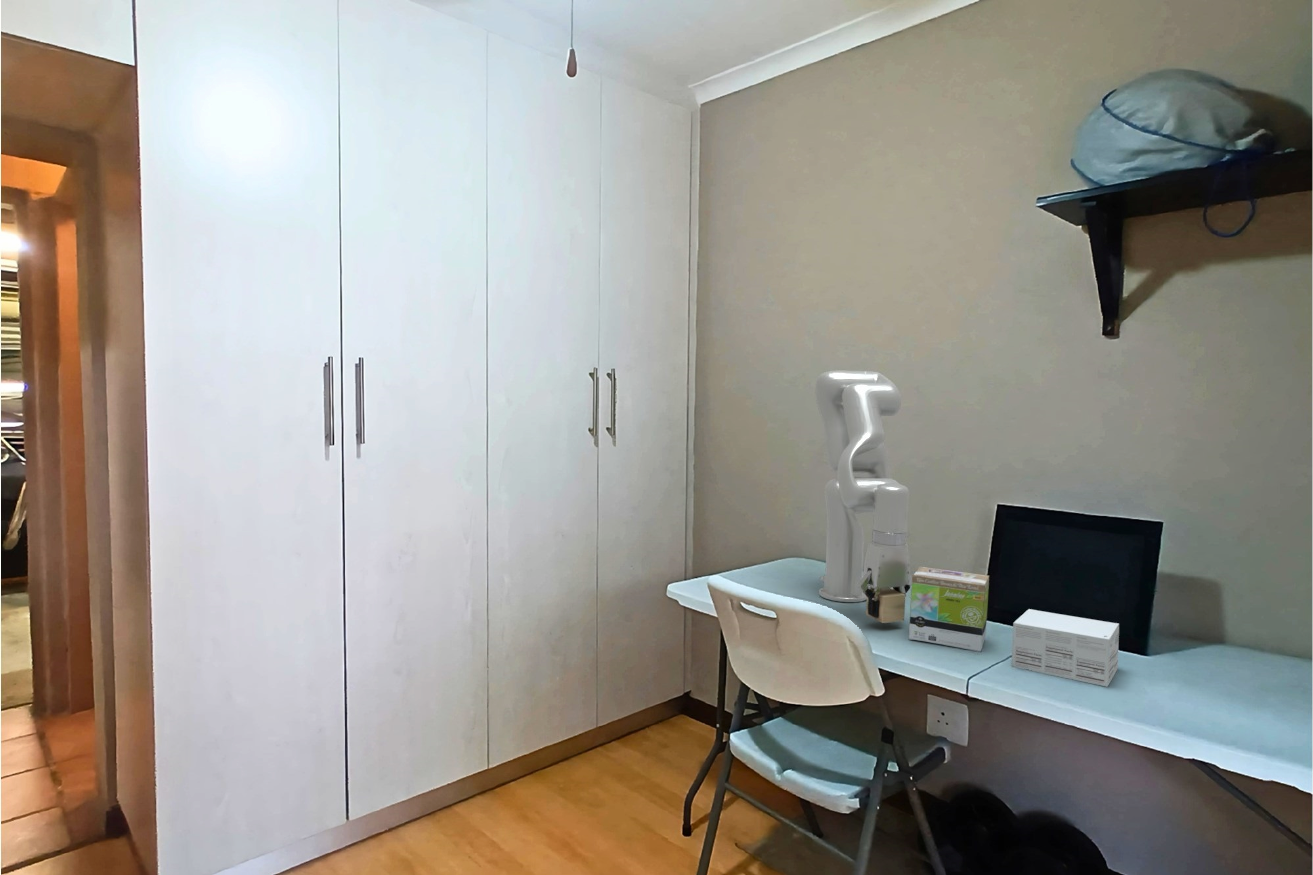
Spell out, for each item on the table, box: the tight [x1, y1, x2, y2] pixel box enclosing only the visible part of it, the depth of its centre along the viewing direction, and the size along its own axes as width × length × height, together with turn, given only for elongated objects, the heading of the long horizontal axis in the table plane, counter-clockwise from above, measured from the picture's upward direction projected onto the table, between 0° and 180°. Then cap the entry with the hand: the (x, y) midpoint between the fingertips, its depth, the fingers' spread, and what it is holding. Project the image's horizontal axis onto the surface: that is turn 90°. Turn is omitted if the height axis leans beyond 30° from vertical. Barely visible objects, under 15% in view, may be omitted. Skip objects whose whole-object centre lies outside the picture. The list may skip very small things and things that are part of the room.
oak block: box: [865, 588, 906, 624], centre depth 177 cm, size 6×6×6 cm
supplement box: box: [1010, 608, 1120, 688], centre depth 153 cm, size 17×13×9 cm
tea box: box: [908, 566, 990, 653], centre depth 168 cm, size 15×10×15 cm, turn 62°
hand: (885, 613), depth 177 cm, fingers closed on oak block, 6 cm apart
